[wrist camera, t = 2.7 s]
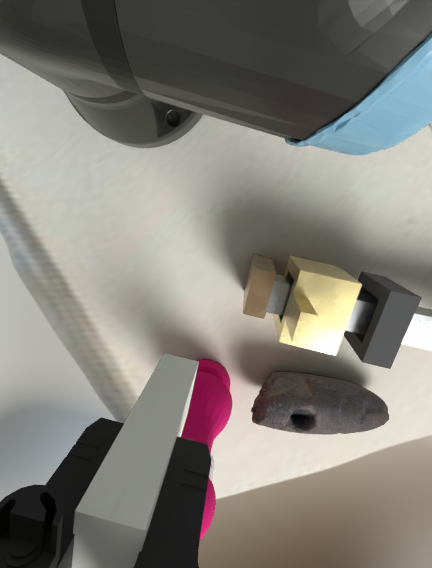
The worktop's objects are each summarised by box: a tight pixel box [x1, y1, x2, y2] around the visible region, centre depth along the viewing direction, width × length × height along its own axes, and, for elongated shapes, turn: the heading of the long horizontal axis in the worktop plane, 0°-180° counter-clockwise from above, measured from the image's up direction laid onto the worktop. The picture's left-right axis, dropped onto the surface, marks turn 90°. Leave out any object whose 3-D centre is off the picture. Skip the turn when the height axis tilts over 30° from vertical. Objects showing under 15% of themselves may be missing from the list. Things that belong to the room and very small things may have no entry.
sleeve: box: [273, 256, 362, 356], centre depth 26 cm, size 5×7×11 cm
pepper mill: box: [181, 359, 232, 539], centre depth 28 cm, size 7×7×20 cm
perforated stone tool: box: [251, 372, 389, 434], centre depth 33 cm, size 15×5×7 cm, turn 85°
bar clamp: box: [243, 255, 432, 351], centre depth 29 cm, size 30×4×7 cm, turn 78°
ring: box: [344, 272, 421, 369], centre depth 28 cm, size 2×7×7 cm, turn 168°
